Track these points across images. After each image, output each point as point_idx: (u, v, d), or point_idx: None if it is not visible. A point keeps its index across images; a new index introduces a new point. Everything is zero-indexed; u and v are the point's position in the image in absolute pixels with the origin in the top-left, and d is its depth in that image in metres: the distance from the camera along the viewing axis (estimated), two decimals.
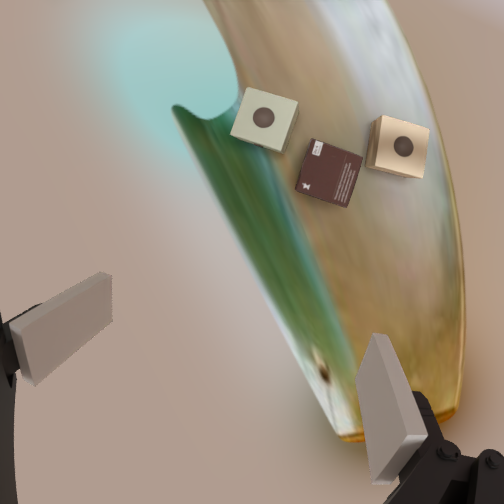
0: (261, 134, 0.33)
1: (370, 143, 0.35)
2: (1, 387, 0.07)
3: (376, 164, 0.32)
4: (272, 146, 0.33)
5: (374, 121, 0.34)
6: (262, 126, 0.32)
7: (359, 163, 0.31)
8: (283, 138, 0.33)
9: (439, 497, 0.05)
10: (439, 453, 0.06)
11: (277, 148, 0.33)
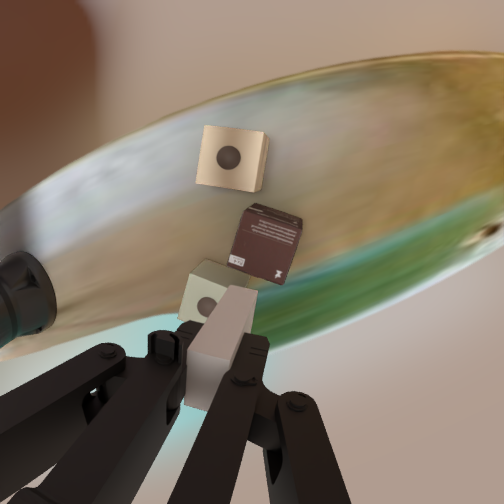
0: None
1: None
2: (154, 428, 0.07)
3: (252, 190, 0.30)
4: None
5: None
6: None
7: (251, 214, 0.29)
8: None
9: (249, 420, 0.07)
10: (234, 381, 0.09)
11: None
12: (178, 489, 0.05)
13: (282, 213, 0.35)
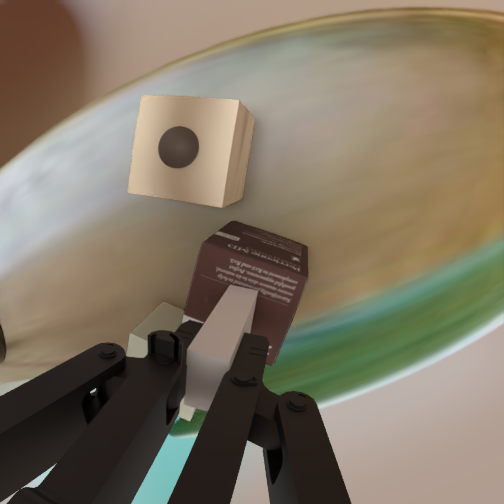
0: None
1: None
2: (154, 427, 0.07)
3: (219, 204, 0.17)
4: None
5: None
6: None
7: (215, 249, 0.16)
8: None
9: (249, 421, 0.07)
10: (234, 381, 0.09)
11: None
12: (178, 489, 0.05)
13: (275, 238, 0.21)
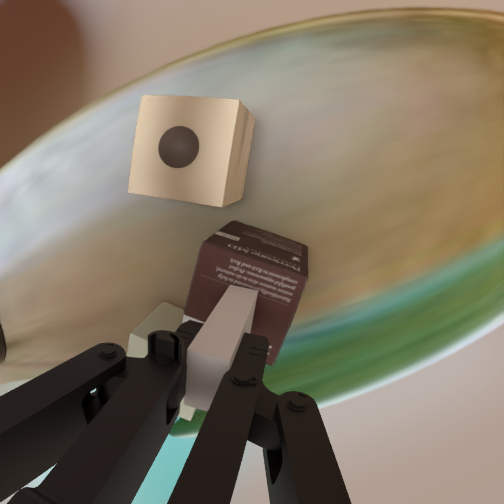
0: None
1: None
2: (154, 428, 0.07)
3: (219, 204, 0.17)
4: None
5: None
6: None
7: (215, 249, 0.16)
8: None
9: (249, 421, 0.07)
10: (234, 381, 0.09)
11: None
12: (178, 489, 0.05)
13: (275, 238, 0.21)
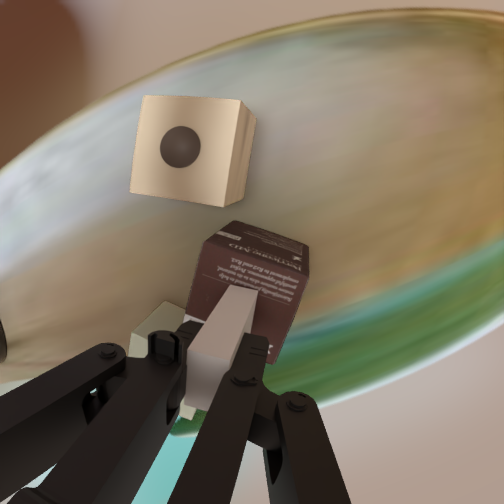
0: None
1: None
2: (154, 428, 0.07)
3: (220, 204, 0.17)
4: None
5: None
6: None
7: (216, 248, 0.16)
8: None
9: (249, 421, 0.07)
10: (234, 381, 0.09)
11: None
12: (178, 489, 0.05)
13: (276, 238, 0.21)
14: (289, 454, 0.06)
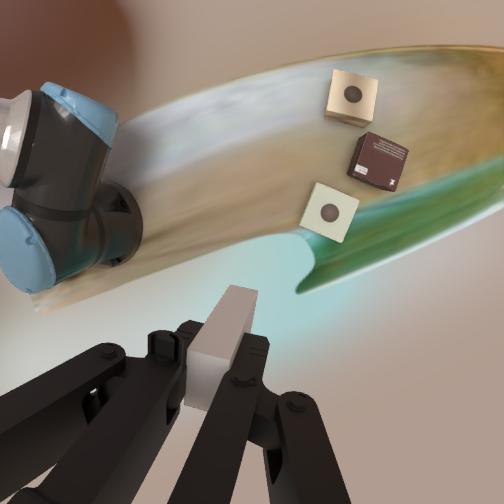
0: (344, 216, 0.39)
1: (345, 121, 0.40)
2: (154, 428, 0.07)
3: (370, 120, 0.35)
4: (355, 207, 0.38)
5: (325, 116, 0.40)
6: (337, 214, 0.39)
7: (373, 135, 0.34)
8: (349, 197, 0.38)
9: (249, 420, 0.07)
10: (234, 381, 0.09)
11: (357, 203, 0.38)
12: (178, 489, 0.05)
13: None
14: (289, 454, 0.06)
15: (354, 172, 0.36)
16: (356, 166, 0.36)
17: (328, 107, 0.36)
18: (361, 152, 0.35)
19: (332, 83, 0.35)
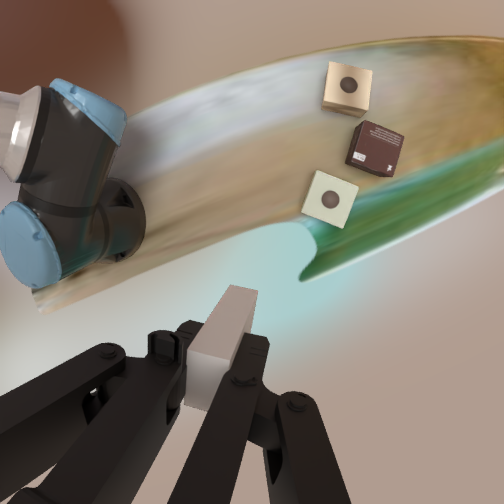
0: (344, 202, 0.40)
1: (341, 111, 0.41)
2: (154, 428, 0.07)
3: (366, 109, 0.36)
4: (355, 193, 0.39)
5: (323, 107, 0.41)
6: (338, 200, 0.40)
7: (369, 123, 0.35)
8: (348, 184, 0.39)
9: (249, 420, 0.07)
10: (234, 381, 0.09)
11: (357, 189, 0.39)
12: (178, 489, 0.05)
13: None
14: (289, 454, 0.06)
15: (352, 159, 0.37)
16: (354, 153, 0.37)
17: (325, 98, 0.37)
18: (358, 140, 0.36)
19: (328, 75, 0.36)
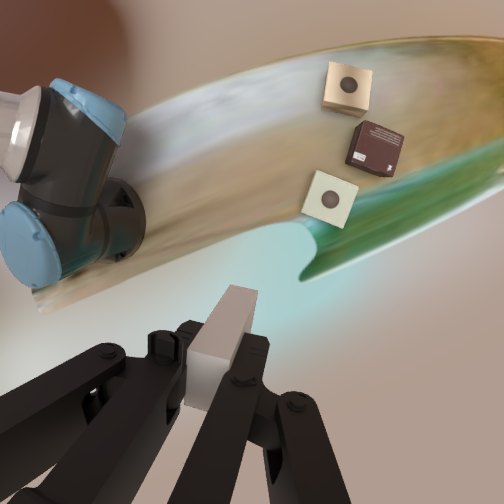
0: (344, 202, 0.40)
1: (341, 111, 0.41)
2: (154, 428, 0.07)
3: (366, 109, 0.36)
4: (355, 193, 0.39)
5: (323, 107, 0.41)
6: (338, 200, 0.40)
7: (369, 123, 0.35)
8: (348, 184, 0.39)
9: (249, 420, 0.07)
10: (234, 381, 0.09)
11: (356, 189, 0.39)
12: (178, 489, 0.05)
13: None
14: (289, 454, 0.06)
15: (352, 159, 0.37)
16: (354, 153, 0.37)
17: (325, 98, 0.37)
18: (359, 140, 0.36)
19: (328, 75, 0.36)
